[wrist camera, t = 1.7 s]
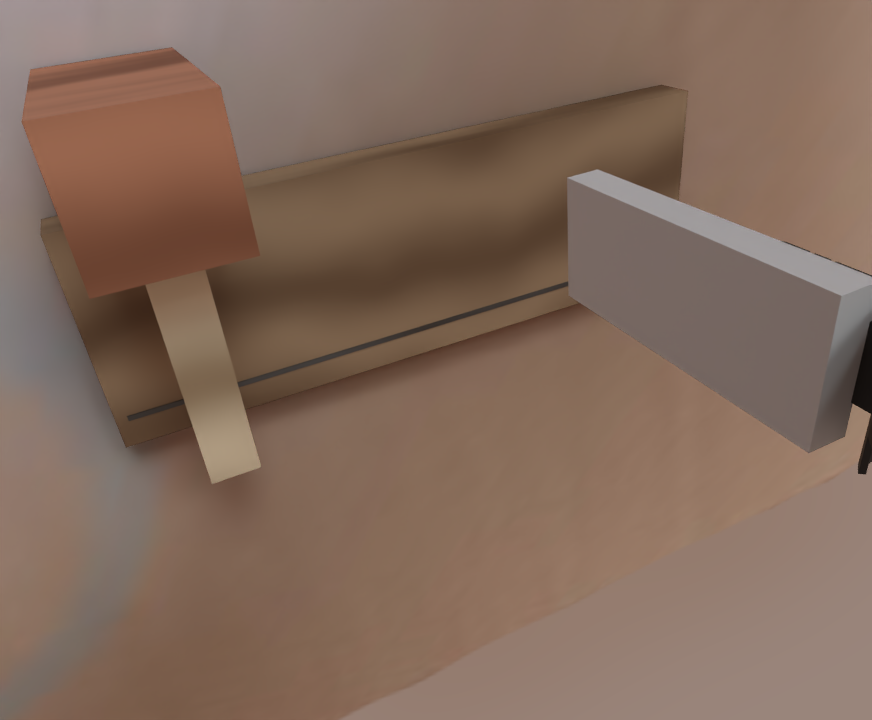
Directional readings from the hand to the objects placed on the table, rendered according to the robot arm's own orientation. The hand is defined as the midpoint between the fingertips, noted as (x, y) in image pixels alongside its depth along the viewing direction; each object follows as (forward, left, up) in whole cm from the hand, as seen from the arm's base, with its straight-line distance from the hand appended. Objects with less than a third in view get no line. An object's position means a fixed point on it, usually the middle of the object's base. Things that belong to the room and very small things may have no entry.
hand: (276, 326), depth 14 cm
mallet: (+5, -1, -19) cm, 20 cm away
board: (+7, +10, -19) cm, 23 cm away
